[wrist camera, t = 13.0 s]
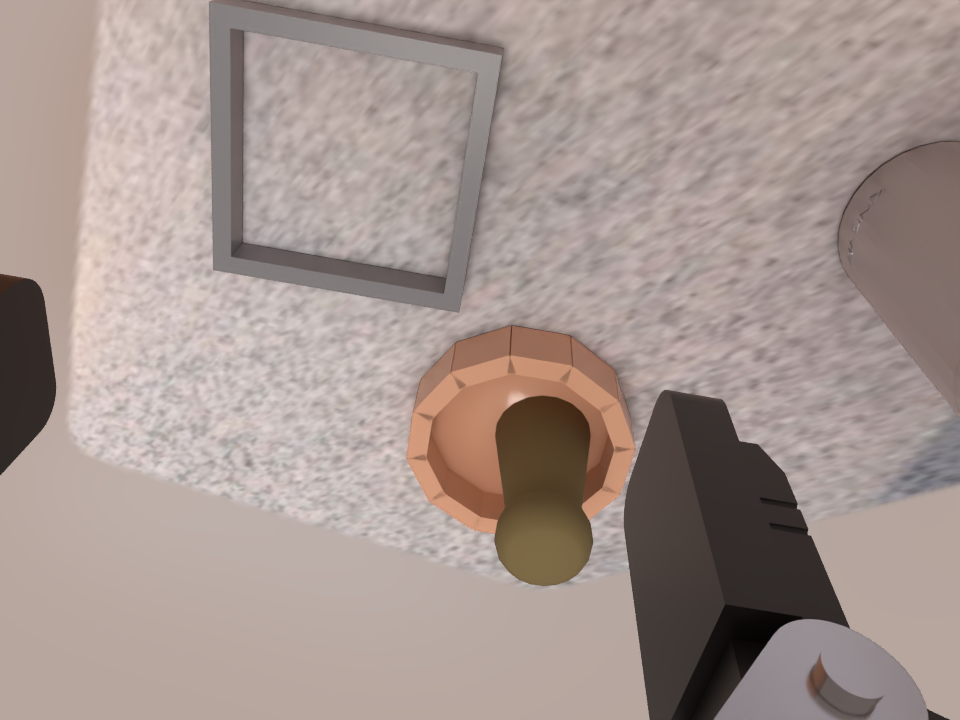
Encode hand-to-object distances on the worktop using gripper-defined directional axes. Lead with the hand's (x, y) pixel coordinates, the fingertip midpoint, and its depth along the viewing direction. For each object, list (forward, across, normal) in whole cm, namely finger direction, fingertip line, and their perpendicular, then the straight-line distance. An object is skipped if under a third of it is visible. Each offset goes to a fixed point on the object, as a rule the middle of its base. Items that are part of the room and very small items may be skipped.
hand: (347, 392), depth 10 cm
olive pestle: (+32, -8, +23) cm, 40 cm away
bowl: (+33, -6, +23) cm, 41 cm away
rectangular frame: (+33, +6, +8) cm, 35 cm away
